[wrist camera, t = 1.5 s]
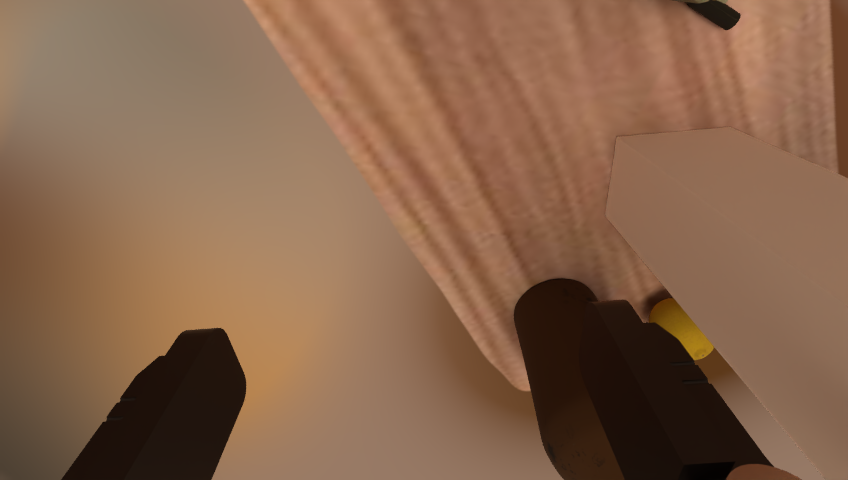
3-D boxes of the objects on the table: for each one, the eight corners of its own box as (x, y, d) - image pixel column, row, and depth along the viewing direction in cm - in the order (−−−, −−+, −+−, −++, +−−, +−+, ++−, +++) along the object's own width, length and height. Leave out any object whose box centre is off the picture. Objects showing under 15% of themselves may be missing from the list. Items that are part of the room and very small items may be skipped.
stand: (616, 136, 38) (1150, 527, 10) (729, 126, 38) (1587, 501, 10) (604, 215, 42) (964, 646, 14) (706, 207, 42) (1272, 630, 14)
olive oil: (533, 357, 52) (616, 617, 30) (491, 302, 47) (553, 561, 26) (615, 319, 49) (771, 577, 28) (578, 256, 44) (731, 507, 23)
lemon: (682, 318, 49) (726, 372, 42) (634, 324, 49) (669, 378, 43) (690, 280, 46) (738, 331, 39) (639, 287, 47) (678, 338, 40)
